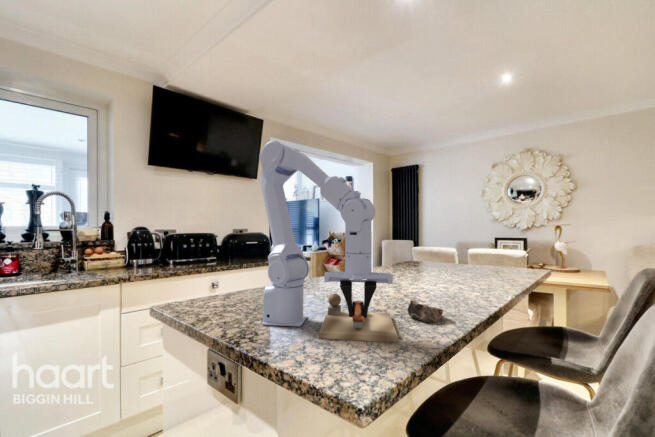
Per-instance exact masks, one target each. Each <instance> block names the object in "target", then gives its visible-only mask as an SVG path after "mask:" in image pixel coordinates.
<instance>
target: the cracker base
mask: <svg viewBox="0 0 655 437" xmlns="http://www.w3.org/2000/svg"><path fill="white" fill-rule="evenodd" d="M341 299H342V298H341V296H340V295H339V294H337V293H331V294H330V295H329V297H328V299H327V300H328V303H329V305H328V307H327V312H326V314H325V317H324V319H323V322H322V325H321V328H320V329H319V334H318V336H319V337H318V339H330V340H345V341H346V340H347V341H367V342H383V343H384V342H385V343H386V342H387V343H399V342H398V338H399V336H398V334H397V331H396V328H395V325H394V322H393V320H392V316H391V313H390V312H389V313H387V312H370V311H369V312H367V318H364V321H363V328H357V327H353V321H352V317H349V311H342V310H341V309H342V305H341V302H342V300H341Z"/></svg>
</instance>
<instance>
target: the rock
mask: <svg viewBox="0 0 655 437" xmlns="http://www.w3.org/2000/svg"><path fill="white" fill-rule="evenodd" d="M409 301H410V303H409V304H408V307H407V314H408V315H409V317H413V318H414V319H416V320H418V321H419V320H420V321H422V322H424V323H431V324H434V323H437V322H438V321H439V320H440V319H441V318H442V317H443V314H444V309H442V308H439V307H435V306H433V307H432V306H429V305H427V304H424V303H423V304H420V303H419V302H417V301H416V300H412V299H411V300H409Z"/></svg>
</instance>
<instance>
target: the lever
mask: <svg viewBox="0 0 655 437" xmlns="http://www.w3.org/2000/svg"><path fill="white" fill-rule="evenodd" d="M352 321H353V327H357V328H363V321H364V300H354V301H353V300H352Z"/></svg>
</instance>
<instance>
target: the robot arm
mask: <svg viewBox="0 0 655 437" xmlns="http://www.w3.org/2000/svg"><path fill="white" fill-rule="evenodd" d="M258 156H259V161H260V166H261V172H260V173H261V174H260V187H261V190H262V196H263V202H264V206H265V211H266V212H265V213H266V216H267V221H268V225H269V231H270V236H271V241H272V242H271V243H272V245H273V249H272V250H271V252H270V253H269V255H267V260H268V266H267V277H268V279H269V281H270V282H271V284H267V285H266V286H265V288H264V291H263V299H262V306H263V307H262V322H261V324H262V325H263V326H280V327H284V326H285V327H302V326H303V324H304V322H305V321H306V319H307V317H308V315H307V314H304V289H305V288H304V286H305V279H306V278H307V277H308V276H309V273H310V264H309V262H308V260H307V259H306V258H305V254H304V252H303V250H302V248H301V247H299V245H298V244H297V243H296V240H295V236H294V231H293V226H292V220H291V218H290V212H289V207H288V203H287V202H288V201H287V199H286V194H285V190H284V184H285V183H286V182H287V181H288V180H289V179H291V178H292V177H293V176H294V175H295V174H296V173H297V172H301V174H303V175H304V176H305V177H307V178H308V179H309V180H310V181H311V182H313V183H314V184H315V185H317V186H318V187H319V189H320V190H319V191H320V193H319V194H320V195H321V197H323V198H324V199H325V200H326V201H327V202H328V203H329V204H330V205H331V206H332V207H334V209H336V210H337V211H338V212H339V213H340V216H341V218H342V220H343V221H344V225H345V227H344V228H345V229H344V230H345V231H344V232H345V233H344V238H345V239H344V242H345V243H344V246H345V247H344V248H345V249H344V271H325V272H324V274H323V275H324V282H325V283H331V282H334V283H335V282H336V283H337V282H338V283H339V287H340V290H341V292H342V294H343V297H344V300H345V302H346V306H347V312H349V317H352V302H353V283H364V287H363V288H364V290H363V292H364V294H363V295H364V296H363V297H364V298H363V302H364V318H367V312H368V311H369V307H370V304H371V301H372V298H373V297H374V293H375V292H376V290H377V287H378V286H377V284H387V285H388V284H389V285H394V284H393V280H394V278H393V273H391V272H389V273H387V272H386V273H385V272H374V271H372V252H373V251H372V246H373V245H372V244H373V243H372V242H373V241H372V239H373V238H372V235H373V234H372V233H373V232H372V220H374V218H375V215H376V208H375V206H374V204H373V203H372V202H371V200H370V199H368V198H365V197H363V198H362V197H361V194H362V193H361V192H360V191H358V190H354V189H353V188H352V187H351V186H349V185H348V184H347V183H346V182H347V180H346V179H345V178H344V177H343V176H342V177H341V176H340V177H339V176H336V175H334V176H329V175H328V174H327V173H326V172H325V171H324V170H323V169H322V168H320V167H319V165H317V164H316V163H315V162H314V160H312V159H311V158H310V157H309V156H307V154H305V153H303V152H301V151H300V150H299V149H297V148H293V147H290V146H288V145H286V144H283V143H281V142H279V141H278V140H275V139H272V140H269V141H268V142H266V143H265V144H264V146H263V148H262V149H261V151H260V153H259V155H258Z"/></svg>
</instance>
